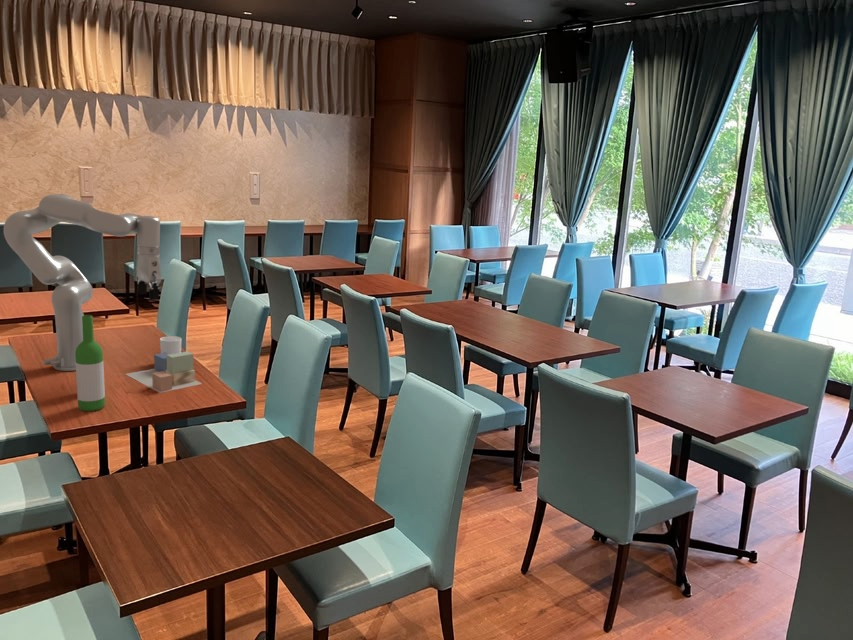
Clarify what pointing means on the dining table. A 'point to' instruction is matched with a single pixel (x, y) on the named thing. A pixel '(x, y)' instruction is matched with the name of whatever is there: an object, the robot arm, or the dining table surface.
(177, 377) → the beech block
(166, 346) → the white cup
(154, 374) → the terracotta block
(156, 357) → the slate blue block
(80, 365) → the wine bottle
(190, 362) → the sage block
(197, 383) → the felt placemat
